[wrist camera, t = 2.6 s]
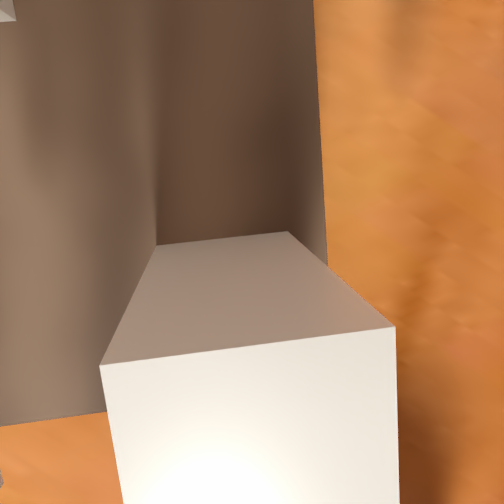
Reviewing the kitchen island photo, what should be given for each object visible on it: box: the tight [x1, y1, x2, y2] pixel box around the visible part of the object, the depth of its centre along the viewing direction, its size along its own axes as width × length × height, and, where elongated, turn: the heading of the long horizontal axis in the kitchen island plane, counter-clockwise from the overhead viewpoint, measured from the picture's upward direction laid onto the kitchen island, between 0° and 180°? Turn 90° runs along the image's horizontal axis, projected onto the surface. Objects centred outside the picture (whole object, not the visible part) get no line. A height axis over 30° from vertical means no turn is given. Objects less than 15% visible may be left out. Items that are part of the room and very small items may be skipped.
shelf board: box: [0, 0, 328, 426], centre depth 16 cm, size 16×22×3 cm
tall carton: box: [99, 231, 400, 504], centre depth 13 cm, size 5×6×10 cm
